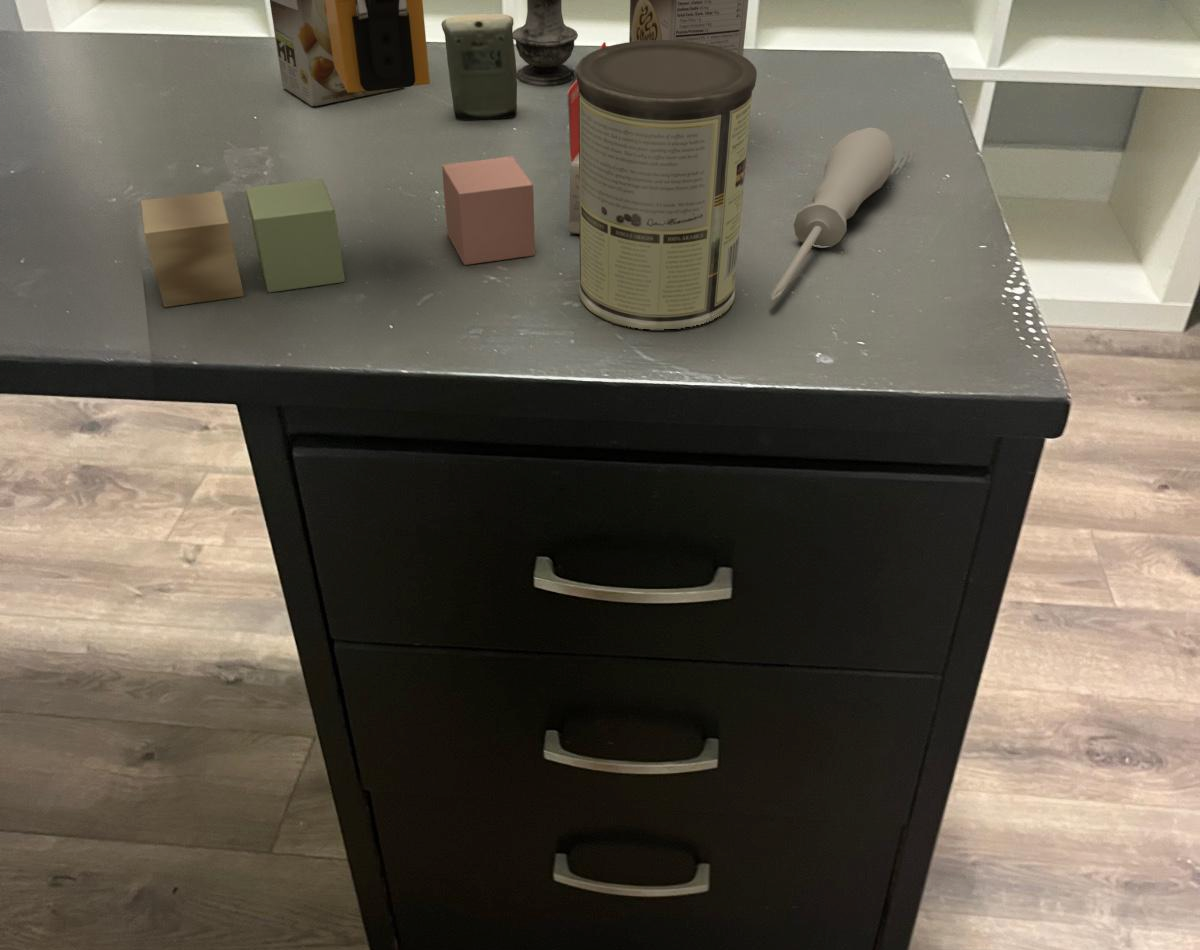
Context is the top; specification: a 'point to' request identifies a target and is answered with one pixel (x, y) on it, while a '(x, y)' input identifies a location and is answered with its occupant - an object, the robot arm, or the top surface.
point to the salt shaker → (545, 44)
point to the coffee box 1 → (308, 52)
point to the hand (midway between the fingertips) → (379, 68)
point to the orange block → (344, 48)
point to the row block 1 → (191, 248)
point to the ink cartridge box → (574, 156)
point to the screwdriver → (841, 192)
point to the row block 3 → (489, 210)
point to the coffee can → (661, 180)
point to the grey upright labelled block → (481, 66)
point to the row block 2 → (295, 235)
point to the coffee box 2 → (690, 21)
